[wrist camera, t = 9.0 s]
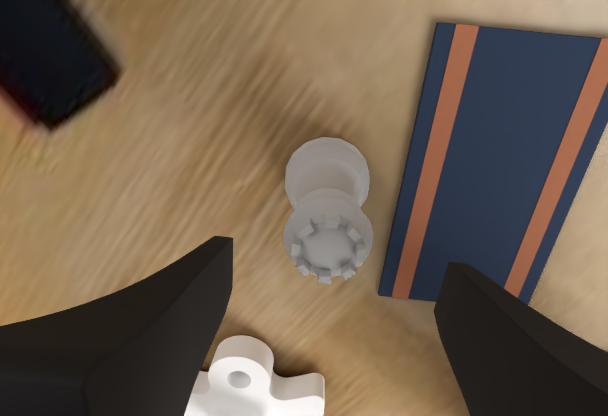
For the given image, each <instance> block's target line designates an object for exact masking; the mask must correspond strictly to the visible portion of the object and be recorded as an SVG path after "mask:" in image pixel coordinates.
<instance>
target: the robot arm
mask: <svg viewBox="0 0 608 416" xmlns="http://www.w3.org/2000/svg"><path fill="white" fill-rule="evenodd" d="M232 280H233V238H230V237H221V236H214V237H212V238H211V239H209V240H208V241H206V242H205V243H203V244H202V245H200V246H199V247H197V248H196V249H194V250H193V251H191V252H189V253H188V254H186V255H185V256H183V257H182V258H180V259H179V260H177V261H175V262H174V263H172V264H170V265H169V266H167V267H165V268H163V269H162V270H160V271H158V272H156V273H155V274H153V275H151V276H149V277H147V278H145V279H143V280H141V281H139V282H137V283H135V284H133V285H131V286H128V287H126V288H124V289H122V290H119V291H117V292H115V293H112V294H109V295H107V296H104V297H101V298H99V299H96V300H93V301H91V302H88V303H85V304H82V305H79V306H76V307H73V308H70V309H67V310H63V311H60V312H56V313H53V314H49V315H46V316H42V317H38V318H34V319H30V320H26V321H21V322H17V323H12V324H8V325H4V326H0V416H184V414H185V411H186V408H187V405H188V402H189V399H190V396H191V393H192V390H193V387H194V384H195V381H196V379H197V376H198V374H199V371H200V369H201V367H202V364H203V362H204V360H205V358H206V355H207V353H208V351H209V349H210V346H211V344H212V342H213V340H214V338H215V335H216V333H217V331H218V329H219V326H220V324H221V322H222V319H223V317H224V315H225V312H226V309H227V305H228V302H229V298H230V295H231V291H232ZM434 314H435V318H436V323H437V327H438V331H439V335H440V339H441V341H442V344H443V347H444V349H445V352H446V354H447V357H448V359H449V362H450V364H451V367H452V369H453V372H454V374H455V377H456V379H457V382H458V384H459V387H460V389H461V392H462V394H463V397H464V399H465V402H466V405H467V407H468V410H469V413H470V416H608V353H607V352H605V351H604V350H602V349H600V348H598V347H596V346H594V345H592V344H590V343H589V342H587V341H585V340H583V339H581V338H580V337H578V336H576V335H574V334H573V333H571V332H569V331H567V330H566V329H564V328H562V327H561V326H559V325H557V324H556V323H554V322H553V321H551V320H549V319H548V318H546V317H545V316H543V315H542V314H540V313H539V312H537V311H536V310H534V309H533V308H531V307H530V306H528V305H527V304H525V303H524V302H522V301H521V300H519V299H518V298H517V297H515V296H514V295H512V294H511V293H510V292H508V291H507V290H505V289H504V288H503V287H501V286H500V285H498V284H497V283H496V282H494V281H493V280H492V279H490V278H489V277H487V276H486V275H485V274H483V273H482V272H480V271H479V270H477V269H476V268H474V267H473V266H471V265H469V264H467V263H459V262H448V265H447V269H446V272H445V275H444V278H443V282H442V285H441V288H440V292H439V295H438V298H437V302H436V305H435V308H434Z"/></svg>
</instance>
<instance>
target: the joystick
mask: <svg viewBox="0 0 608 416" xmlns="http://www.w3.org/2000/svg"><path fill="white" fill-rule="evenodd" d="M273 363H274V357H273V353H272V351H271V350H270V348H269V347H268V346H267V345H266V344H265V343H264V342H262V341H261V340H259V339H257V338H254V337H250V336H244V335H238V336H232V337H229V338H227V339H225V340H223V341H222V342H221V343H220V344H219V345H218V347H217V349H216V352H215V355H214V358H213V361H212V363H211V366H210V369H209V372H203V371H199V374H198V376H197V379H196V381H195V384H194V387H193V390H192V393H191V396H190V399H189V402H188V405H187V408H186V411H185V414H184V416H323V414H324V381H325V380H324V377H323V376H322V375H321V374H319V373H310V374H306V375H301V376H295V377H289V378H284V377H280V376H278V375H276V374H275V373H274V371H273Z"/></svg>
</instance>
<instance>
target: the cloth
mask: <svg viewBox="0 0 608 416" xmlns="http://www.w3.org/2000/svg"><path fill="white" fill-rule="evenodd" d="M607 122H608V39H604V38H593V37H583V36H572V35H562V34H552V33H542V32H532V31H522V30H512V29H502V28H492V27H482V26H473V25H463V24H452V23H442V22H438V23H436V27H435V32H434V37H433V41H432V46H431V50H430V55H429V60H428V64H427V69H426V73H425V78H424V83H423V87H422V92H421V96H420V101H419V106H418V110H417V115H416V120H415V124H414V129H413V133H412V138H411V143H410V147H409V152H408V156H407V161H406V166H405V170H404V175H403V179H402V184H401V189H400V193H399V198H398V202H397V207H396V212H395V216H394V221H393V226H392V230H391V235H390V239H389V244H388V249H387V253H386V258H385V262H384V267H383V272H382V276H381V281H380V285H379V290H378V295H379V296H388V297H392V298H401V299H416V300H425V301H435V302H437V298H438V295H439V292H440V288H441V285H442V282H443V278H444V275H445V272H446V269H447V265H448V262H459V263H467V264H469V265H471V266H473V267H474V268H476V269H477V270H479V271H480V272H482V273H483V274H485V275H486V276H487V277H489V278H490V279H492V280H493V281H494V282H496V283H497V284H498V285H500V286H501V287H503V288H504V289H505V290H507V291H508V292H510V293H511V294H512V295H514V296H515V297H517V298H518V299H519V300H521V301H522V302H524V303H525V304H527V305H528V303H529V301H530V299H531V296H532V294H533V292H534V289H535V287H536V285H537V283H538V280H539V278H540V276H541V273H542V271H543V269H544V267H545V264H546V262H547V260H548V257H549V255H550V253H551V250H552V248H553V246H554V244H555V241H556V239H557V237H558V234H559V232H560V230H561V228H562V225H563V223H564V221H565V218H566V216H567V214H568V211H569V209H570V207H571V205H572V202H573V200H574V198H575V195H576V193H577V191H578V189H579V186H580V184H581V182H582V179H583V177H584V175H585V173H586V170H587V168H588V166H589V163H590V161H591V159H592V156H593V154H594V152H595V150H596V147H597V145H598V143H599V140H600V138H601V136H602V134H603V131H604V129H605V127H606V124H607Z"/></svg>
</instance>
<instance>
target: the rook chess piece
mask: <svg viewBox="0 0 608 416" xmlns="http://www.w3.org/2000/svg"><path fill="white" fill-rule="evenodd" d="M369 175H370V174H369V170H368V167H367V163H366V159H365V158H364V157H363V155H362V154H361V153H360V152H359V151H358V149H357V148H356V147H355V146H354V145H352V144H350V143H348V142H346V141H344V140H342V139H340V138H329V137H321V138H318V139H314V140H311V141H308V142H306V143H304V144H303V145H302V146H301V147H300V148H298V149H297V150H296V151H295V152H294V153H293V154H292V156H291V158H290V160H289V162H288V164H287V166H286V175H285V191H286V193H287V196H288V199H289V201H290V204H291V205H292V207H293V208H294V209H295V210H294V211H293V212H292V214H291V215H290V217H289V219H288V221H287V223H286V225H285V226H284V237H283V244H284V246H285V249H286V251H287V254H288V256H289V258H290V259H291V260H292V261H293V262H294V263H295V264H296V268H297V269H298V270H299V272H300V273H301V274H302V275H303V276H304V277H306V276H307V275H308V274H309V273H311V274H313V275H316V276H318V283H325V284H332V278H331V277H334V276H338V275H342V276H343V278H344V280H345V281H346V280H347V279H349V278H350V277H352V276H353V275H355V274H357V272H356V268H357V267H358V266H360V265H361V264H363V263H364V261H365V259H366V258H367V256H368V255H369V253H370V252H371V250H372V244H373V238H374V234H373V230H372V227H371V223H370V220H369V219H368V217H367V216H366V215H365V214H364V213H363V212H362V211H361V206H362V205H363V203H364V202H365V200H366V198H367V196H368V191H369V185H370V178H369Z"/></svg>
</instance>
